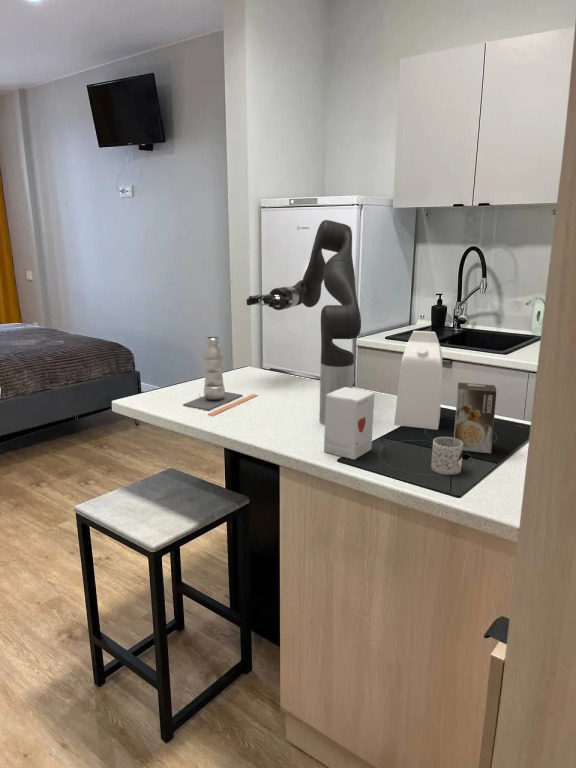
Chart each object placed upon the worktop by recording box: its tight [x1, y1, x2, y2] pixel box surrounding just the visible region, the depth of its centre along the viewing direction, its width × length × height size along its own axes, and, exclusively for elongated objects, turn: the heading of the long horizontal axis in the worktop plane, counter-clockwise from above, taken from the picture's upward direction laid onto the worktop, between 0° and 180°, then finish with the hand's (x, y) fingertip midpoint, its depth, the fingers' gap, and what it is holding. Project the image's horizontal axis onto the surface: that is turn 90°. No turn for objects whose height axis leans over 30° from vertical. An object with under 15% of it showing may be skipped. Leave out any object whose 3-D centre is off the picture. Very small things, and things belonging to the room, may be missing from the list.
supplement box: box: [323, 387, 375, 461], centre depth 136 cm, size 9×9×15 cm
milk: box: [393, 330, 443, 431], centre depth 157 cm, size 12×12×26 cm
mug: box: [430, 436, 463, 476], centre depth 129 cm, size 10×7×7 cm
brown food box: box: [453, 382, 497, 454], centre depth 138 cm, size 9×6×16 cm
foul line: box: [207, 393, 259, 417], centre depth 174 cm, size 2×24×1 cm, turn 150°
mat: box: [182, 391, 244, 412], centre depth 177 cm, size 10×18×1 cm, turn 150°
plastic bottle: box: [202, 336, 226, 400], centre depth 175 cm, size 6×7×20 cm
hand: (258, 303), depth 179 cm, fingers open, 8 cm apart
